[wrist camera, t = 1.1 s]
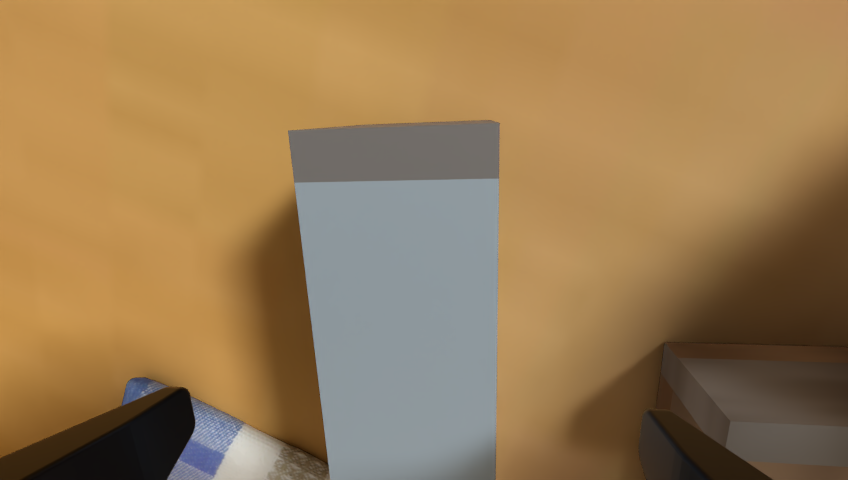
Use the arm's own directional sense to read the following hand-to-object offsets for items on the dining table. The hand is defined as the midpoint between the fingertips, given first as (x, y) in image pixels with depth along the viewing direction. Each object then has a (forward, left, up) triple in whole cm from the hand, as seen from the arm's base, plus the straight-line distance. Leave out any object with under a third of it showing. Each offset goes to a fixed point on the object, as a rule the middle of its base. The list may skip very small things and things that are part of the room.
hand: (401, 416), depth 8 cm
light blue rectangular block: (0, 0, -7) cm, 7 cm away
